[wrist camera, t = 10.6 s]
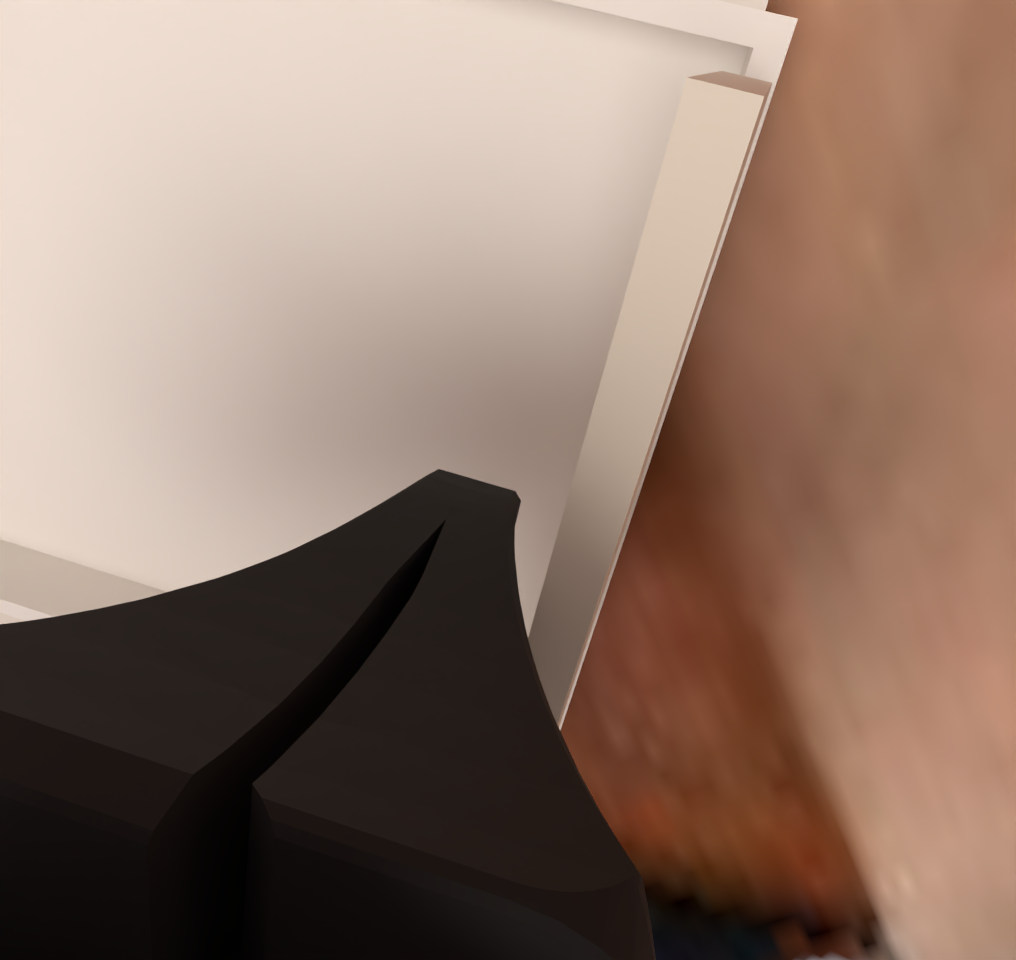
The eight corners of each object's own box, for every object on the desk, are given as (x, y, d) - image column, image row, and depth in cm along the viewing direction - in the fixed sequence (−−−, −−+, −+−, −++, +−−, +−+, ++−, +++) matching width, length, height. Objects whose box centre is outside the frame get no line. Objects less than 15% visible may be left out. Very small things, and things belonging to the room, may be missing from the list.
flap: (507, 781, 16) (537, 793, 16) (432, 977, 13) (468, 993, 12) (722, 71, 10) (772, 83, 10) (686, 77, 6) (763, 95, 6)
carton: (528, 804, 20) (511, 876, 18) (-61, 612, 21) (-128, 662, 20) (875, -252, 10) (908, -313, 8) (-266, -482, 12) (-439, -574, 10)
